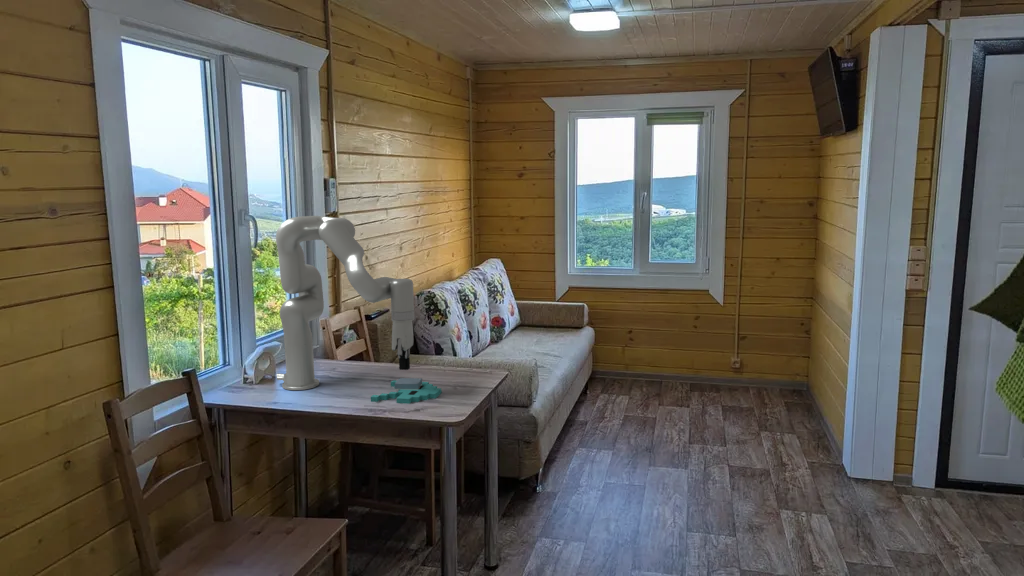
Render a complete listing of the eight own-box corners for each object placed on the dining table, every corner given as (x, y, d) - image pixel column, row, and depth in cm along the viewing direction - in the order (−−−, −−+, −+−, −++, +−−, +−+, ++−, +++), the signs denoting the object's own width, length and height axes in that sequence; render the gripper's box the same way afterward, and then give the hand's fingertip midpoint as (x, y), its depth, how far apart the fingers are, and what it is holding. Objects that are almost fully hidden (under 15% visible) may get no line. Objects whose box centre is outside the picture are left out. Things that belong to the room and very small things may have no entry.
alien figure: (370, 403, 228) (429, 406, 224) (370, 396, 227) (429, 399, 223) (393, 386, 247) (447, 389, 243) (392, 380, 247) (447, 382, 243)
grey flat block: (417, 384, 235) (394, 383, 235) (417, 389, 235) (394, 389, 236) (422, 378, 242) (399, 378, 242) (422, 384, 242) (399, 383, 243)
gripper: (398, 311, 240) (400, 363, 242) (384, 319, 225) (386, 374, 228) (419, 312, 239) (421, 364, 241) (407, 320, 224) (409, 375, 227)
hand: (404, 369), depth 235 cm, fingers closed
